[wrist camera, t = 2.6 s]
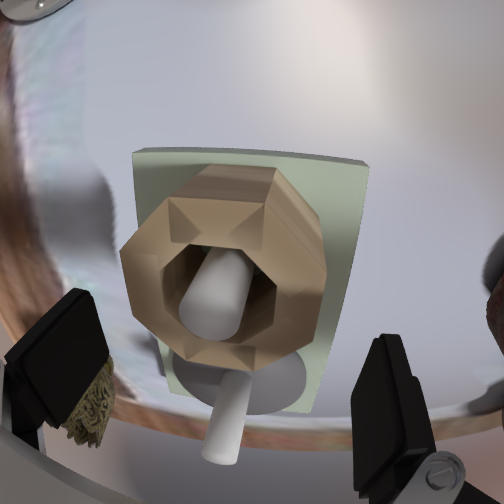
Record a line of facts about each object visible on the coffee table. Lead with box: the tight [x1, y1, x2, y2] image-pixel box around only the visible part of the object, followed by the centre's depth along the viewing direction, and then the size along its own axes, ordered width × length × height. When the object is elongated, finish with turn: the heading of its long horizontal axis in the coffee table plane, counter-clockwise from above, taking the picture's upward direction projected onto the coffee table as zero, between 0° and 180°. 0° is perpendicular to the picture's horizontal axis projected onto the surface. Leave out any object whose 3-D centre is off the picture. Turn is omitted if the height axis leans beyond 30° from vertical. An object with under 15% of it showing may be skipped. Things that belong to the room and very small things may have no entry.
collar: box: [119, 164, 327, 371], centre depth 12 cm, size 7×7×5 cm
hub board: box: [132, 147, 370, 465], centre depth 15 cm, size 18×11×8 cm, turn 177°
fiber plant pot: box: [49, 356, 115, 448], centre depth 20 cm, size 8×7×8 cm
